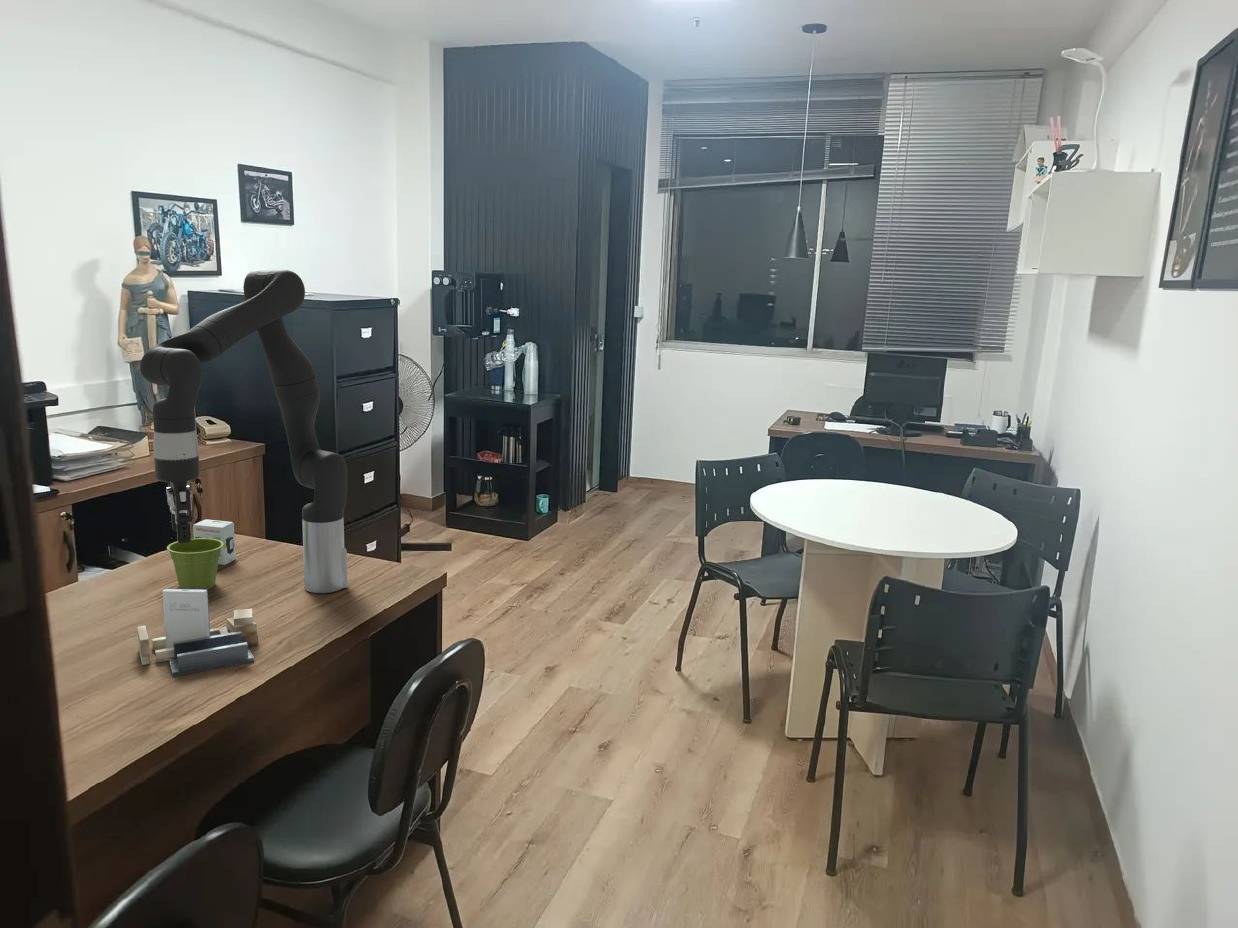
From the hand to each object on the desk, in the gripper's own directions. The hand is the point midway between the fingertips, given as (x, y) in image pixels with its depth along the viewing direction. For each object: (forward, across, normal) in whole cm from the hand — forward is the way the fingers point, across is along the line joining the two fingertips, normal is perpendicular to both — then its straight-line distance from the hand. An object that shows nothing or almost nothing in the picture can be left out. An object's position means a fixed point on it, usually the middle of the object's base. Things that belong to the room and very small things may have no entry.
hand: (181, 536), depth 164 cm
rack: (+23, 0, 0) cm, 23 cm away
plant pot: (+24, +34, -6) cm, 42 cm away
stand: (+23, -8, -3) cm, 25 cm away
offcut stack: (+23, 0, -10) cm, 25 cm away
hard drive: (+24, 0, 0) cm, 24 cm away
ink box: (+24, +50, -12) cm, 57 cm away
